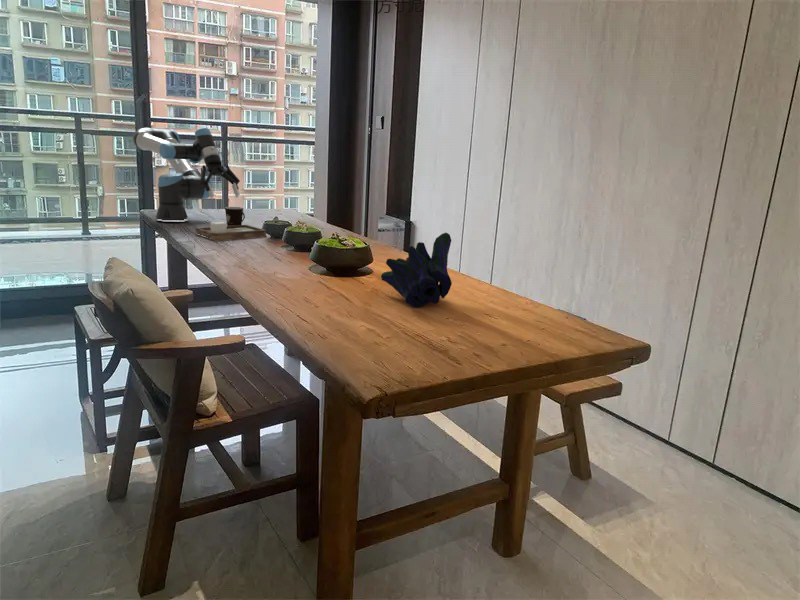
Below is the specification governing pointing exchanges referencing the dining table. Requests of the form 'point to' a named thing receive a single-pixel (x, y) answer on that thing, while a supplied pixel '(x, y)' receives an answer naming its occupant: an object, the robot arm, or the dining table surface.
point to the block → (218, 227)
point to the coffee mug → (234, 215)
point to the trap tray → (233, 232)
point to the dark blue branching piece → (421, 273)
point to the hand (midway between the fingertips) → (225, 196)
